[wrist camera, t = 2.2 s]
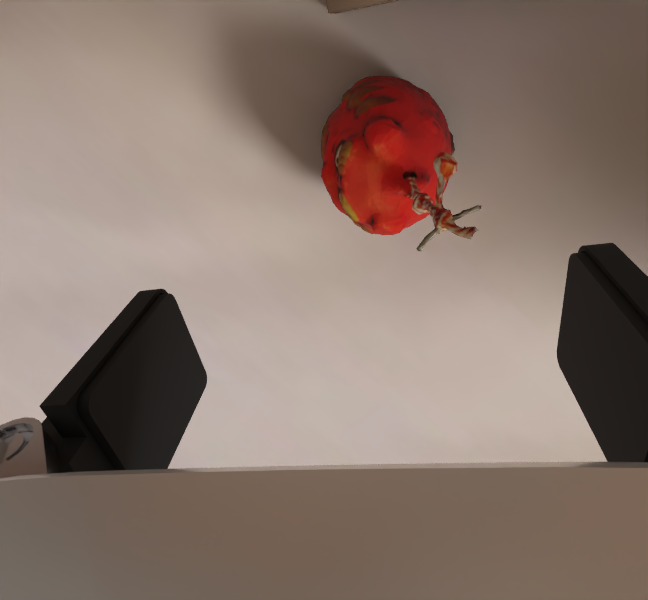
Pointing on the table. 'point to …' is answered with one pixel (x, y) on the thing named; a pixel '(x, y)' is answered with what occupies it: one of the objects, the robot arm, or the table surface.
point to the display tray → (351, 4)
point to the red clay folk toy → (390, 158)
